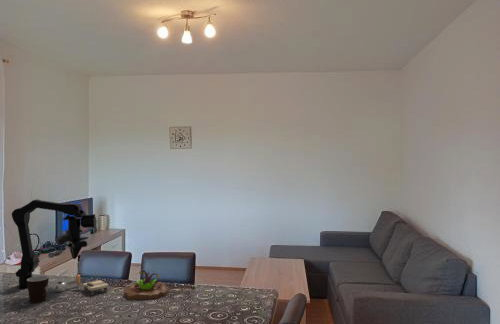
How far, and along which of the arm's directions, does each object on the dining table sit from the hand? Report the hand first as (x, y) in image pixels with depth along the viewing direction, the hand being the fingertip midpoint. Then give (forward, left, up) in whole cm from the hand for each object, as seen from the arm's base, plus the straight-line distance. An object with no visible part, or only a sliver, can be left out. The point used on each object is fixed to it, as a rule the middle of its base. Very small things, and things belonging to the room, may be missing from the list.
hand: (74, 258), depth 187 cm
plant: (+37, +20, -14) cm, 44 cm away
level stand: (+16, +1, -13) cm, 21 cm away
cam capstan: (+6, -5, -13) cm, 15 cm away
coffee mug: (+11, -19, -13) cm, 25 cm away
